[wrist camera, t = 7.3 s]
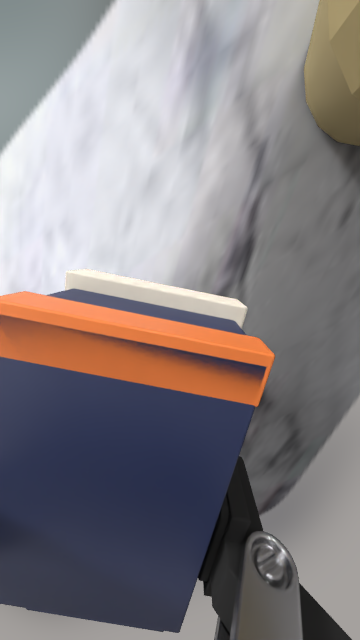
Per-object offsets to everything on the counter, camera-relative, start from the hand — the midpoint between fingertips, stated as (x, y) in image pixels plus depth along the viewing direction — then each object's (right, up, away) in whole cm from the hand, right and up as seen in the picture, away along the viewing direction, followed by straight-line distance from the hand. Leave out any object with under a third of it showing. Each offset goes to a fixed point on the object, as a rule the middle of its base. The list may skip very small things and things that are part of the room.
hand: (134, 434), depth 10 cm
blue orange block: (0, 0, +1) cm, 1 cm away
